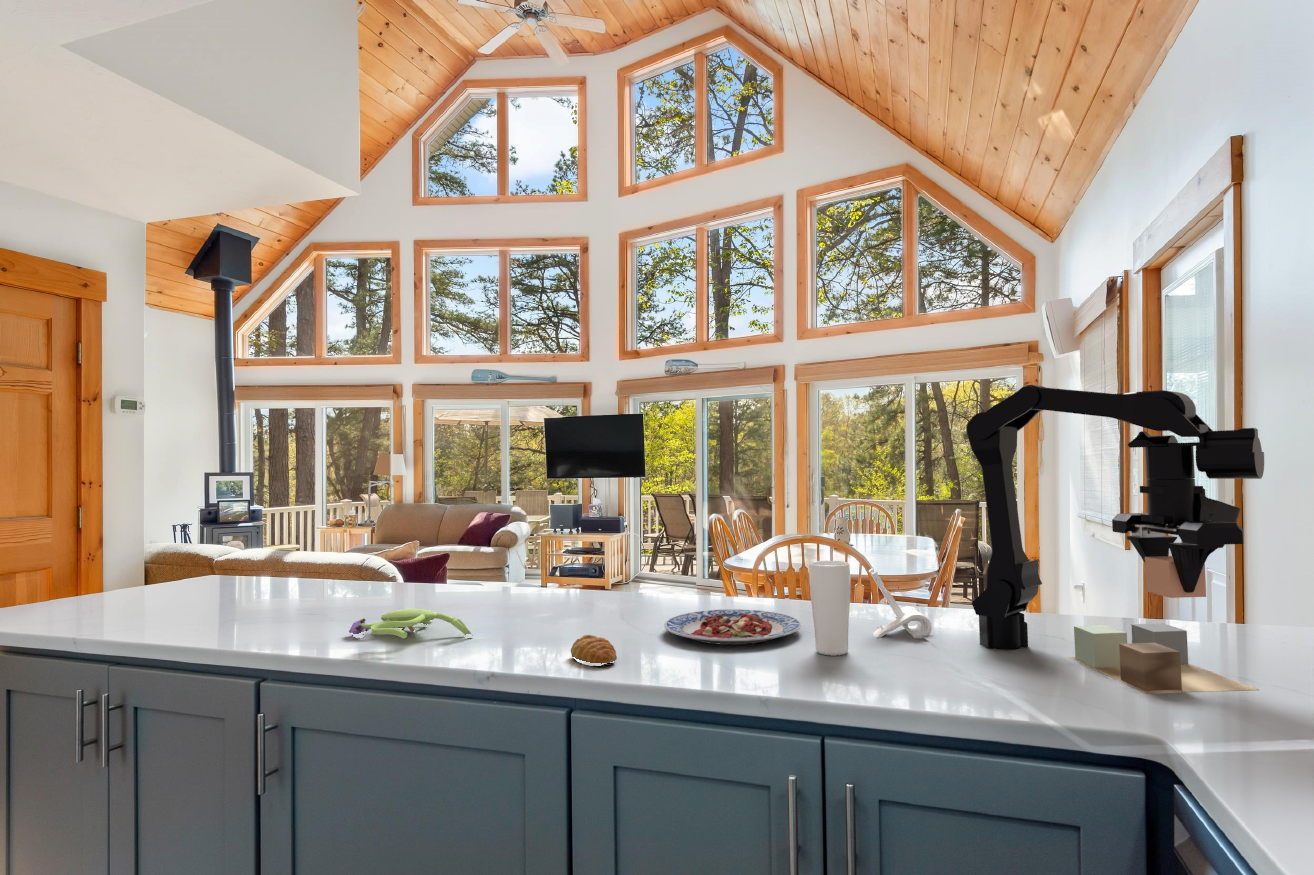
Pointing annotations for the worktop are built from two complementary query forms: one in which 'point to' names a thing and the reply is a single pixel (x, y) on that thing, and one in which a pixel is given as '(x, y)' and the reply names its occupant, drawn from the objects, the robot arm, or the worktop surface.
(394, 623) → the figurine
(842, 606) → the drinking glass
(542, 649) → the worktop surface
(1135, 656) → the walnut block
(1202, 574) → the terracotta block
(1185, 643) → the grey block
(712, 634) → the ceramic plate
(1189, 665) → the oak board
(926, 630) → the plastic part
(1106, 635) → the sage block
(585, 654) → the pastry
